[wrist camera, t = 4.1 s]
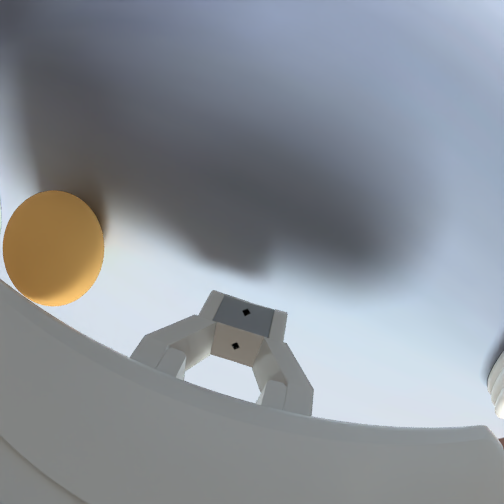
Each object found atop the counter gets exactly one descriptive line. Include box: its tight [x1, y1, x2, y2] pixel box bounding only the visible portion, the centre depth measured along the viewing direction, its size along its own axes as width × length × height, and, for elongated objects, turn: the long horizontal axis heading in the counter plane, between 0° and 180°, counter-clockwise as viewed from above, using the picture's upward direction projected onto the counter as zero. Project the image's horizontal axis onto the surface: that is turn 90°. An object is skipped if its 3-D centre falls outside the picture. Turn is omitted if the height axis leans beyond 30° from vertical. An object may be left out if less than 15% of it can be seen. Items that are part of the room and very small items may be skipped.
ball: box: [3, 190, 104, 306], centre depth 11 cm, size 6×6×6 cm
